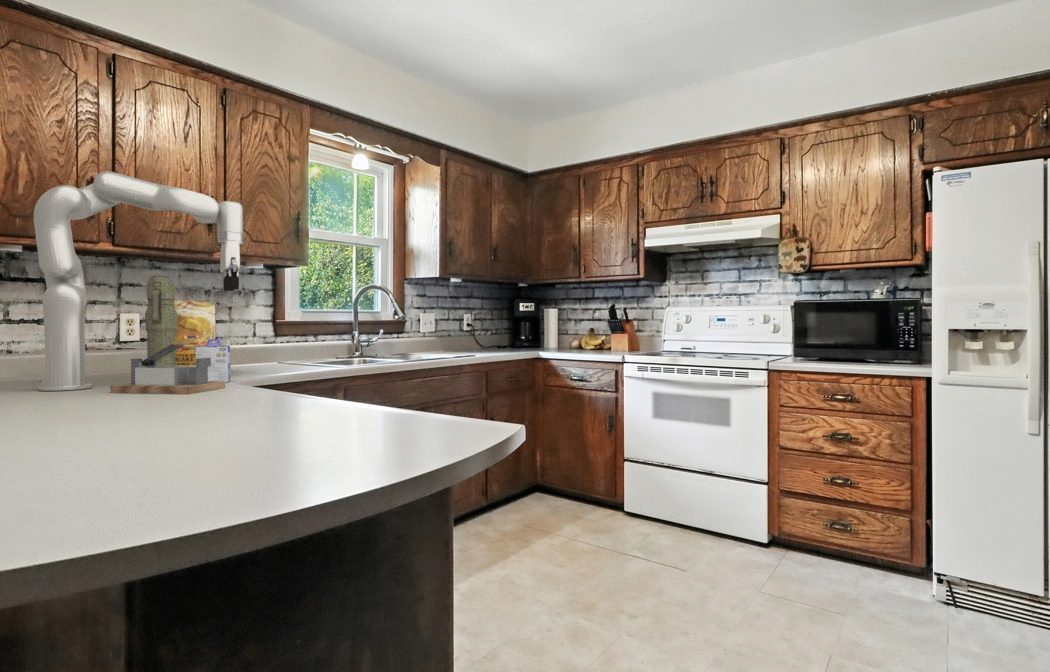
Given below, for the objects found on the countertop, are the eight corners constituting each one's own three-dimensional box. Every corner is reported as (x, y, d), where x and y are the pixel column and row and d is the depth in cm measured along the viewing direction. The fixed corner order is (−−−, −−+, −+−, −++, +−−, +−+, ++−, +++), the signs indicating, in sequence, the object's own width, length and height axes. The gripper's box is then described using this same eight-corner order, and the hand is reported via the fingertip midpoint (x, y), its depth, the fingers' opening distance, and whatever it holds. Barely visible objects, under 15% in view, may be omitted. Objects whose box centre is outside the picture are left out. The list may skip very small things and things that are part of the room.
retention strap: (134, 367, 170) (133, 364, 170) (150, 366, 176) (148, 363, 176) (185, 338, 168) (183, 335, 168) (199, 338, 174) (197, 334, 174)
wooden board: (110, 392, 165) (110, 385, 165) (153, 386, 181) (152, 380, 181) (188, 394, 162) (188, 386, 162) (225, 388, 178) (225, 381, 178)
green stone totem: (142, 385, 185) (141, 274, 184) (149, 382, 196) (148, 277, 195) (174, 384, 188) (173, 275, 188) (180, 381, 199) (179, 278, 198)
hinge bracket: (131, 384, 169) (131, 358, 169) (150, 381, 177) (150, 357, 176) (138, 384, 169) (138, 358, 169) (158, 382, 176) (157, 357, 176)
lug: (188, 384, 168) (188, 358, 168) (200, 383, 173) (200, 357, 173) (199, 384, 168) (199, 358, 168) (210, 383, 173) (210, 357, 173)
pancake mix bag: (154, 380, 204) (154, 299, 204) (216, 377, 213) (216, 300, 213) (153, 381, 198) (152, 298, 198) (217, 379, 208) (216, 299, 207)
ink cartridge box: (231, 381, 200) (230, 338, 200) (229, 382, 195) (228, 339, 195) (198, 382, 197) (198, 339, 197) (195, 383, 192) (194, 339, 192)
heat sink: (135, 385, 167) (135, 367, 167) (166, 381, 179) (165, 364, 178) (174, 385, 165) (173, 368, 165) (202, 381, 177) (202, 365, 177)
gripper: (214, 241, 203) (214, 290, 203) (222, 234, 189) (222, 288, 189) (238, 243, 207) (238, 291, 207) (247, 237, 193) (248, 289, 193)
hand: (231, 290), depth 198 cm, fingers open, 9 cm apart
